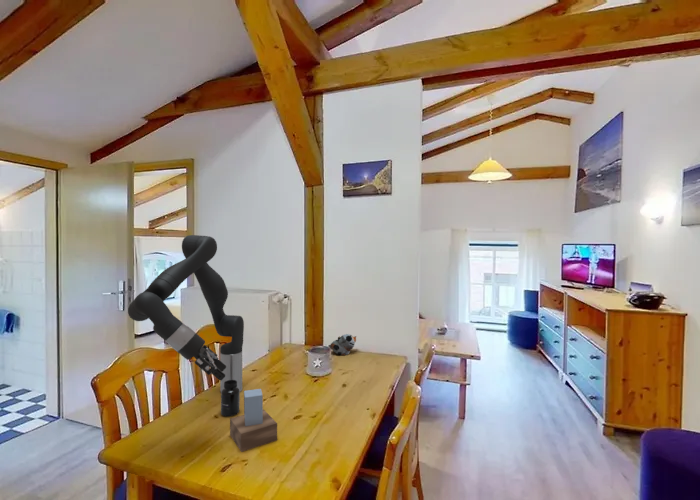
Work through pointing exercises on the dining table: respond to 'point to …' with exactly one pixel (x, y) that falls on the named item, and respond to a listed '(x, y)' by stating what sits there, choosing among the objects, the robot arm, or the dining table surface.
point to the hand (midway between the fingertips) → (223, 373)
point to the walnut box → (253, 432)
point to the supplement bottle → (230, 398)
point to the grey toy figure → (343, 344)
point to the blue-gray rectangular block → (253, 407)
